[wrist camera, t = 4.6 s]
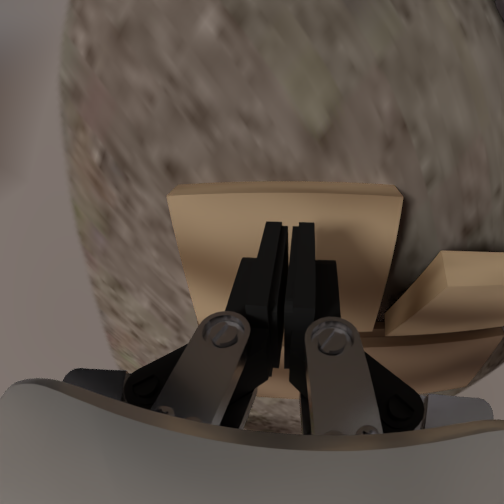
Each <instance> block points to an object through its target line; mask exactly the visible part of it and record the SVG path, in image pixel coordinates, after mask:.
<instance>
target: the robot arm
mask: <svg viewBox="0 0 504 504" xmlns="http://www.w3.org/2000/svg"><path fill="white" fill-rule="evenodd" d="M283 334H284V369H289V382H290V383H291V384H292V385H293V386H294V387H295V388H296V389H297V390H298V391H299V404H300V417H301V432H302V435H296V434H281V433H270V432H260V431H251V430H243V429H244V426H245V423H246V421H247V418H248V416H249V413H250V410H251V408H252V405H253V403H254V400H255V397H256V395H257V392H258V386H260V385H261V384H263V383H264V382H266V381H267V380H268V378H269V377H272V371H273V368H279V365H280V357H281V350H282V342H283ZM0 504H504V420H493V411H492V408H491V406H490V405H489V403H487V402H486V401H485V400H483V399H480V398H469V397H457V396H446V395H437V394H428V395H427V396H420V395H419V394H418V393H417V392H416V391H415V390H414V389H413V388H411V387H410V386H409V385H407V384H406V383H405V382H403V381H402V380H401V379H400V378H398V377H397V376H396V375H394V374H393V373H392V372H391V371H389V370H388V369H387V368H385V367H384V366H383V365H381V364H380V363H379V362H378V361H376V360H375V359H374V358H372V357H371V356H370V355H369V354H367V353H366V352H365V351H364V349H363V346H362V342H361V338H360V335H359V333H358V331H357V329H356V327H355V326H354V325H353V324H352V323H350V322H349V321H347V320H345V319H342V318H341V312H340V298H339V286H338V275H337V264H336V260H315V223H314V222H299V226H293V228H292V239H291V249H290V259H289V254H288V226H282V222H271V221H266V224H265V228H264V232H263V236H262V239H261V243H260V247H259V251H258V255H257V258H251V257H243V258H242V259H241V262H240V265H239V268H238V271H237V274H236V278H235V281H234V284H233V287H232V290H231V293H230V296H229V299H228V303H227V306H226V309H225V311H221V312H216V313H214V314H211V315H209V316H208V317H206V318H205V319H203V321H202V322H201V323H200V324H199V326H198V327H197V329H196V331H195V333H194V334H193V336H192V338H191V340H190V341H189V343H188V344H186V345H185V346H183V347H181V348H179V349H177V350H175V351H173V352H171V353H169V354H167V355H165V356H163V357H161V358H159V359H157V360H155V361H153V362H152V363H150V364H148V365H146V366H144V367H142V368H139V369H138V370H136V371H135V372H133V373H128V372H127V371H126V370H103V369H86V368H77V369H74V370H72V371H70V372H69V373H68V374H67V375H66V376H65V377H64V379H63V381H58V380H53V379H45V378H44V379H43V378H34V379H26V380H22V381H18V382H16V383H14V384H12V385H11V386H10V387H9V388H8V389H7V390H6V391H5V393H4V394H3V396H2V397H1V398H0Z"/></svg>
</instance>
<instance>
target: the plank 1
mask: <svg viewBox="0 0 504 504" xmlns="http://www.w3.org/2000/svg"><path fill="white" fill-rule="evenodd" d="M167 201H168V205H169V210H170V215H171V219H172V224H173V228H174V232H175V236H176V241H177V245H178V249H179V253H180V257H181V261H182V265H183V269H184V273H185V276H186V280H187V284H188V288H189V291H190V295H191V298H192V302H193V306H194V309H195V313H196V316H197V319H198V323H199V324H200V323H201V322H202V321H203V319H205V318H206V317H208V316H209V315H211V314H214V313H216V312H221V311H225V309H226V306H227V303H228V299H229V296H230V293H231V290H232V287H233V284H234V281H235V278H236V274H237V271H238V268H239V265H240V262H241V259H242V258H243V257H251V258H257V255H258V251H259V247H260V243H261V239H262V236H263V232H264V228H265V224H266V221H271V222H282V226H288V254H289V259H290V249H291V239H292V228H293V226H299V222H314V223H315V260H336V264H337V275H338V286H339V298H340V312H341V318H342V319H345V320H347V321H349V322H350V323H352V324H353V325H354V326H355V327H356V329H357V331H358V332H371V331H373V327H374V324H375V321H376V318H377V314H378V311H379V308H380V304H381V301H382V297H383V293H384V290H385V286H386V282H387V278H388V274H389V270H390V265H391V261H392V257H393V252H394V247H395V243H396V238H397V233H398V227H399V222H400V216H401V210H402V204H403V196H402V195H401V193H400V192H399V191H398V189H397V188H396V187H395V186H394V185H384V184H368V183H347V182H312V181H255V182H220V183H199V184H182V185H177V186H176V187H175V188H174V189H173V190H172V191H171V192H170V193H169V194H168V195H167Z"/></svg>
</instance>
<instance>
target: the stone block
mask: <svg viewBox="0 0 504 504" xmlns="http://www.w3.org/2000/svg"><path fill="white" fill-rule="evenodd" d="M495 4H496V7H497V9H498V11H499V13H500V15H501V17H502V19H503V21H504V0H495Z"/></svg>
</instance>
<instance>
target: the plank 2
mask: <svg viewBox="0 0 504 504" xmlns="http://www.w3.org/2000/svg"><path fill="white" fill-rule="evenodd" d="M384 316H385V336H406V335H423V334H437V333H449V332H460V331H469V330H478V329H486V328H494V327H501V326H504V253H503V252H473V251H440V253H439V254H438V255H437V256H436V257H435V259H434V260H433V261H432V262H431V263H430V265H429V266H428V267H427V268H426V269H425V270H424V272H423V273H422V274H421V275H420V276H419V277H418V279H417V280H416V281H415V282H414V283H413V284H412V285H411V286H410V287H409V289H408V290H407V291H406V292H405V293H404V294H403V295H402V296H401V297H400V298H399V299H398V300H397V301H396V302H395V303H394V304H393V306H392V307H391V308H390V309H389V310H388V311H387V312H386V313H385V314H384Z"/></svg>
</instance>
